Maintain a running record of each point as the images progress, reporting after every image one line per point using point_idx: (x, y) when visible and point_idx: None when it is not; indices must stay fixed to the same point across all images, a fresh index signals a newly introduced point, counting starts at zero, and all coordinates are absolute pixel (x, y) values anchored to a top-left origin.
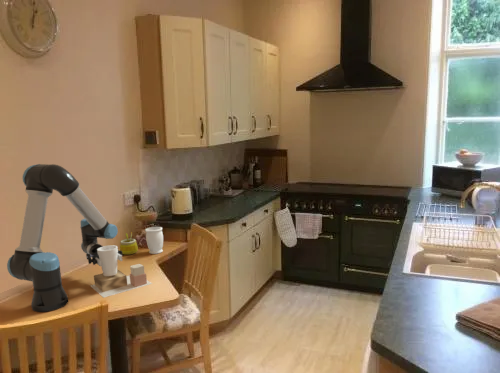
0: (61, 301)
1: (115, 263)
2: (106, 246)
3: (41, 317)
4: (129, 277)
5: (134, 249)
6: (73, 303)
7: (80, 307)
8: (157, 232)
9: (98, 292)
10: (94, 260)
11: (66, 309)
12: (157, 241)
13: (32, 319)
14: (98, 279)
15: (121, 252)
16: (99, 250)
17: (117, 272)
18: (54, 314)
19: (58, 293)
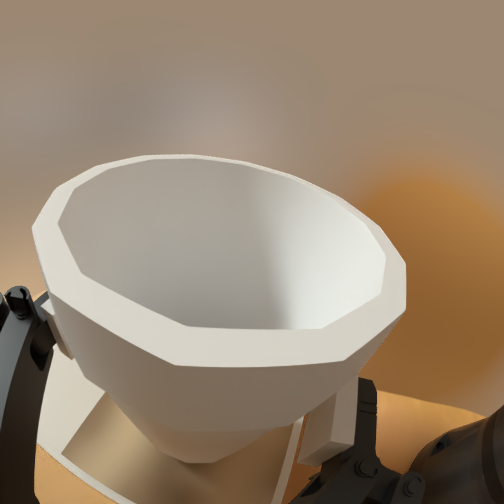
0: (446, 433)
1: (191, 306)
2: (88, 283)
3: (473, 413)
4: (52, 416)
5: None
6: (397, 446)
7: (388, 393)
8: None
9: (297, 431)
10: (372, 406)
11: (423, 414)
12: None
13: (486, 417)
14: (287, 446)
15: (3, 301)
16: (380, 239)
17: (116, 419)
18: (450, 407)
19: (473, 424)
